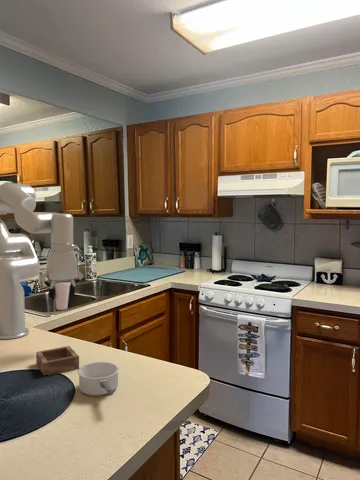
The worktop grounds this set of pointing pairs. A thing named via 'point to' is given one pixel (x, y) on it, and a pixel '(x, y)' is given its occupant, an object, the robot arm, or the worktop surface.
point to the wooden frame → (57, 360)
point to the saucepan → (98, 378)
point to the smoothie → (62, 293)
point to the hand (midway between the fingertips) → (62, 297)
